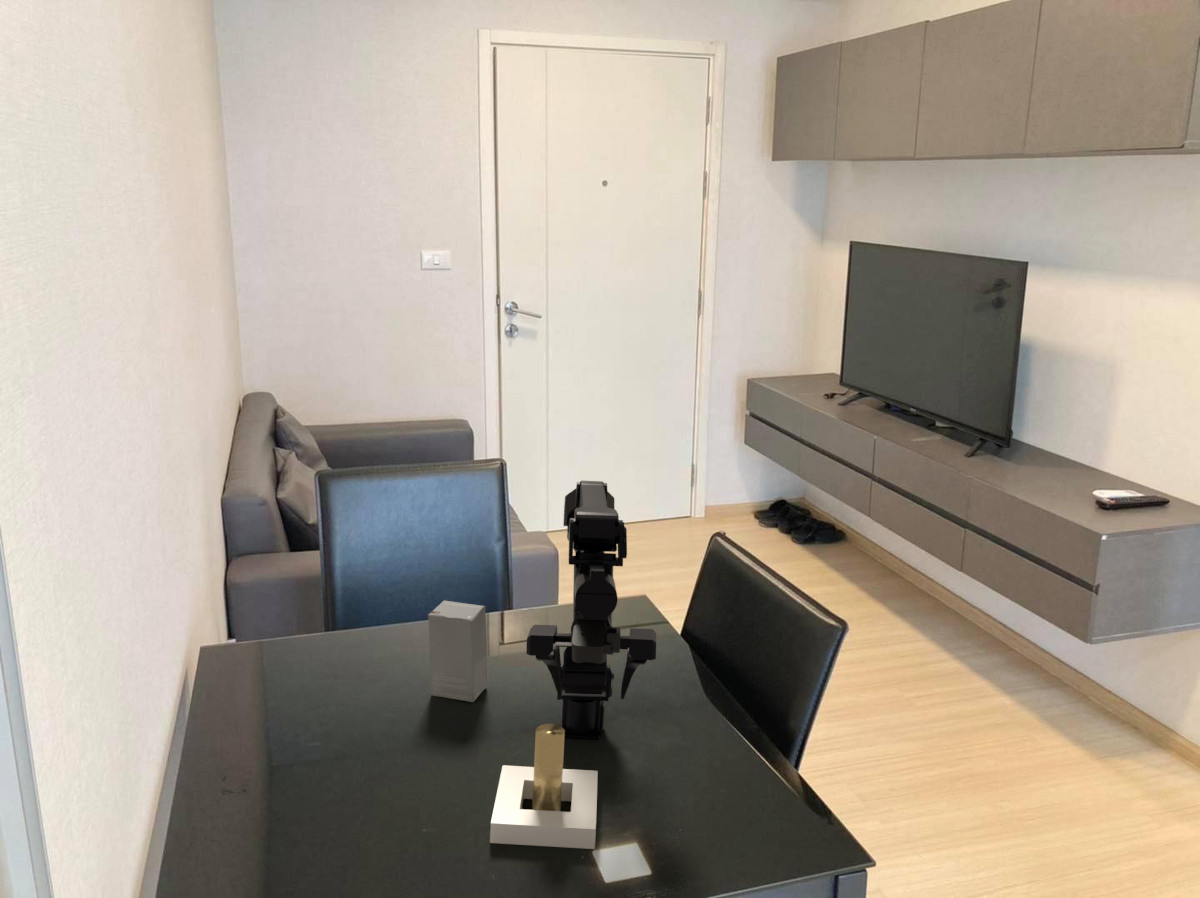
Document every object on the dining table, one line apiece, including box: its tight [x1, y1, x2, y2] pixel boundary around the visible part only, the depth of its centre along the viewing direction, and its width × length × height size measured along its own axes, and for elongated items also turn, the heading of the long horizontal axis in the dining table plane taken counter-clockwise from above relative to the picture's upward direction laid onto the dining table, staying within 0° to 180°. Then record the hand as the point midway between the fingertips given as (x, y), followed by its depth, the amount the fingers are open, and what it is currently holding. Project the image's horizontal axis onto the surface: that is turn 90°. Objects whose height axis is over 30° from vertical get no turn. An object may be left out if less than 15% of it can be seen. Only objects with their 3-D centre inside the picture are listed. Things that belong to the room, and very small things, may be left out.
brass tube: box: [531, 723, 566, 812], centre depth 135 cm, size 4×4×13 cm
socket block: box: [489, 764, 599, 850], centre depth 136 cm, size 14×14×3 cm
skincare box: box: [427, 600, 488, 703], centre depth 168 cm, size 8×7×16 cm
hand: (591, 696), depth 144 cm, fingers open, 9 cm apart
